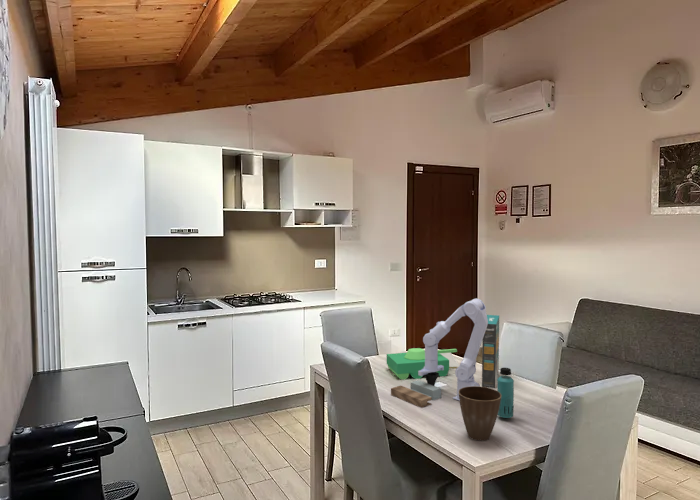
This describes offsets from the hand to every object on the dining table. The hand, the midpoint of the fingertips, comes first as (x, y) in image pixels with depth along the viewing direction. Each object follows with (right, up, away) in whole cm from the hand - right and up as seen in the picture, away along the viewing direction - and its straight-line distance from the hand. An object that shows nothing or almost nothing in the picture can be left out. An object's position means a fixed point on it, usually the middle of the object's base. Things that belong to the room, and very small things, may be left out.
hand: (431, 388), depth 223 cm
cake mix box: (+32, -1, +17) cm, 36 cm away
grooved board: (-10, -3, -8) cm, 13 cm away
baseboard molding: (+16, +1, +52) cm, 54 cm away
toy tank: (+1, -1, +30) cm, 30 cm away
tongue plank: (-3, -2, -2) cm, 4 cm away
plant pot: (+10, -5, -45) cm, 46 cm away
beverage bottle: (+24, -4, -29) cm, 38 cm away
